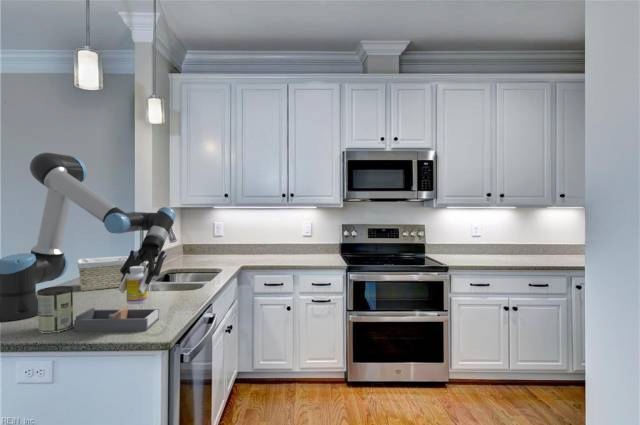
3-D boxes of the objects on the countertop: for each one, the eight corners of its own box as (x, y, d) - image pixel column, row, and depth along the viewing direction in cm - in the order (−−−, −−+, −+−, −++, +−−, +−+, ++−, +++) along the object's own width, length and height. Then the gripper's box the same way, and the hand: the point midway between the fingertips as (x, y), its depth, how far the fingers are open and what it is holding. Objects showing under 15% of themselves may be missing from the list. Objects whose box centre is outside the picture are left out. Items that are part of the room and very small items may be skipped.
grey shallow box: (74, 331, 133) (74, 317, 133) (93, 320, 146) (93, 307, 146) (146, 330, 135) (146, 316, 135) (159, 319, 148) (159, 306, 148)
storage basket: (77, 292, 191) (76, 262, 190) (77, 286, 205) (77, 258, 204) (131, 287, 203) (131, 259, 203) (127, 281, 217) (127, 255, 217)
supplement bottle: (139, 305, 137) (138, 268, 137) (122, 304, 138) (122, 268, 138) (150, 300, 144) (150, 265, 143) (135, 299, 145) (134, 265, 144)
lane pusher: (103, 326, 135) (103, 315, 135) (115, 318, 145) (115, 307, 145) (115, 326, 136) (115, 315, 136) (127, 317, 146) (127, 307, 146)
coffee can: (50, 324, 141) (50, 285, 141) (79, 324, 141) (79, 285, 141) (30, 334, 131) (29, 292, 130) (61, 333, 131) (61, 292, 131)
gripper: (181, 246, 155) (161, 297, 139) (135, 245, 157) (109, 295, 141) (175, 234, 149) (153, 285, 133) (127, 233, 151) (99, 284, 135)
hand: (131, 290), depth 137 cm, fingers closed on supplement bottle, 7 cm apart
